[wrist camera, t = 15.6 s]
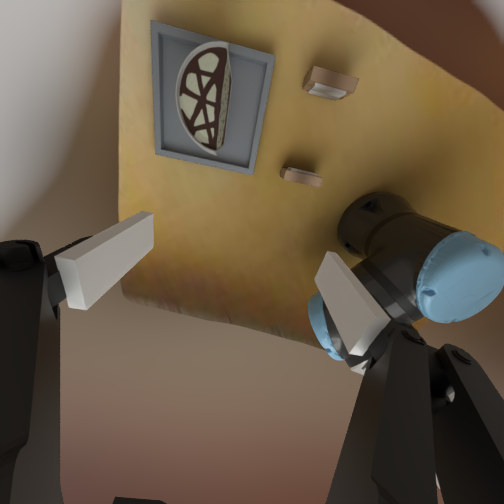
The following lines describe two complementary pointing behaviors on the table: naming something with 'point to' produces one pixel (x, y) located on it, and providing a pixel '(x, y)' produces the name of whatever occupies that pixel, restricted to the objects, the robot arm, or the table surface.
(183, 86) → the food container
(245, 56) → the tray
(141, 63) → the table surface
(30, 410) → the robot arm
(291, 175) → the brown rectangular blocks
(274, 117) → the table surface
